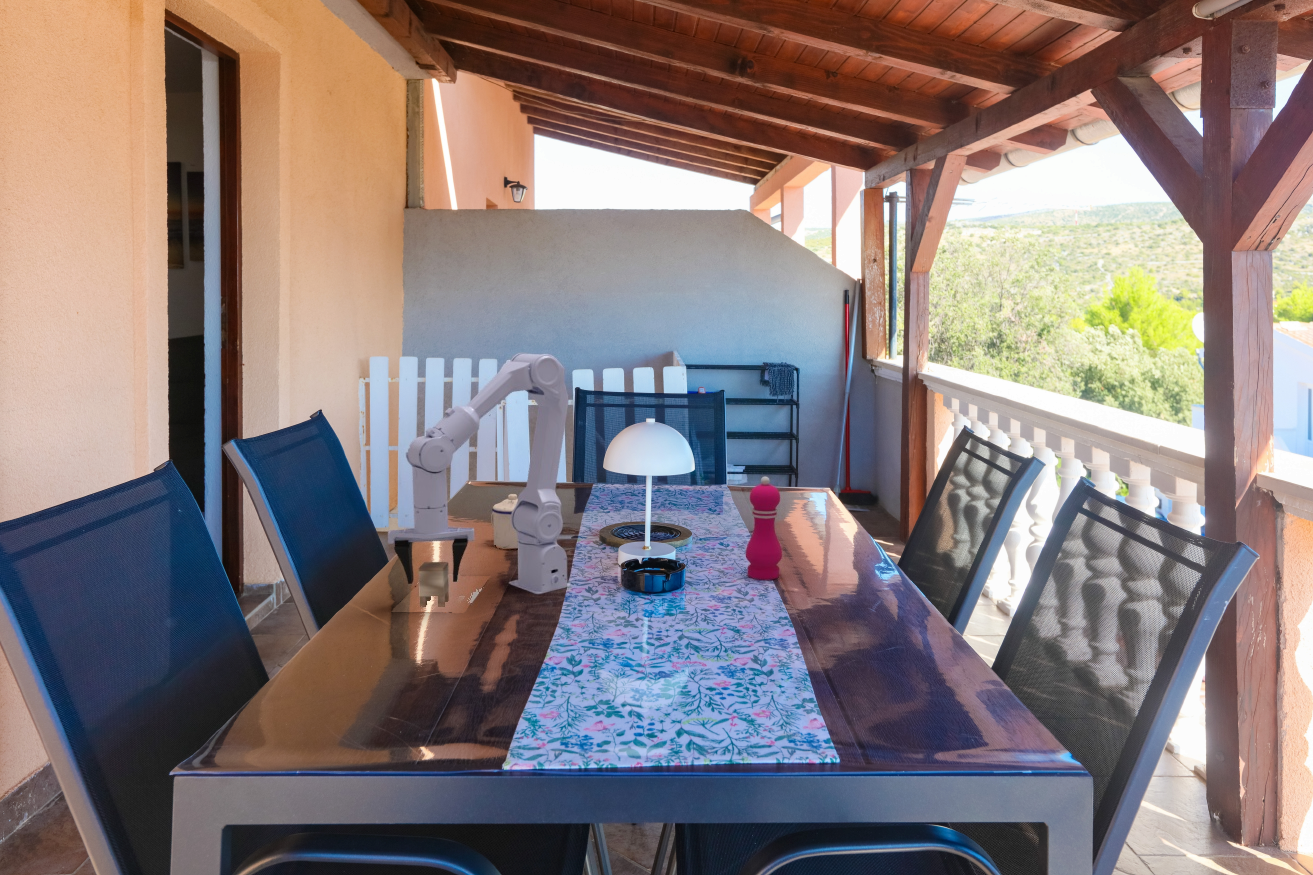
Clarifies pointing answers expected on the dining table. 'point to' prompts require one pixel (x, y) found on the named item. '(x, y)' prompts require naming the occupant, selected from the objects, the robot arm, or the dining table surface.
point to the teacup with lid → (504, 523)
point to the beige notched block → (434, 582)
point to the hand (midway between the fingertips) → (433, 581)
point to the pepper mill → (764, 533)
